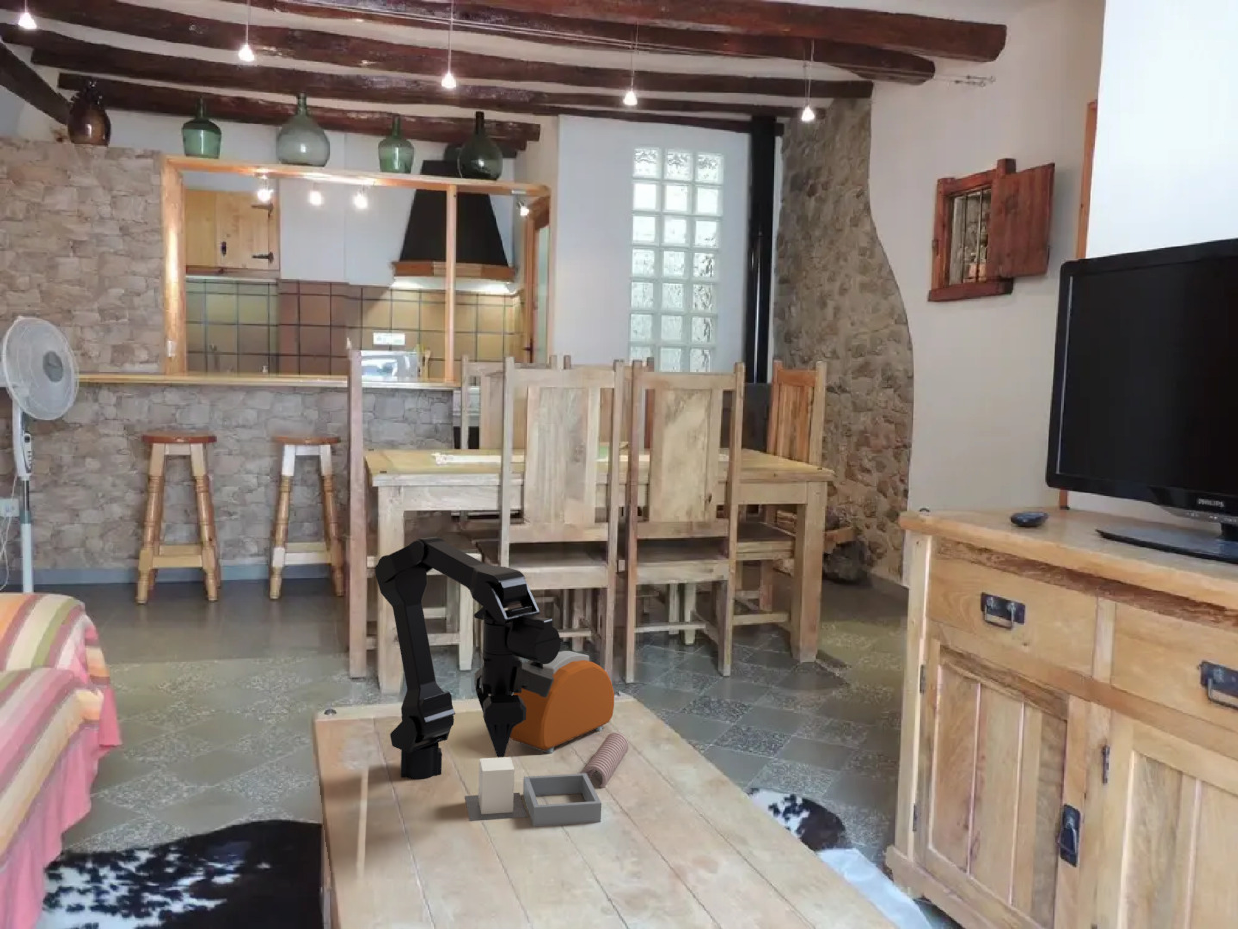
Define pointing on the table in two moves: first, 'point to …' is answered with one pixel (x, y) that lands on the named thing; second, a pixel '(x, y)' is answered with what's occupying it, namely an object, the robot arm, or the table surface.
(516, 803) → the stud plate
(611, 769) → the coil
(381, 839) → the table surface
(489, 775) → the cream rectangular block
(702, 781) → the table surface
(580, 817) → the bin
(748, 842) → the table surface
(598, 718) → the orange grey rounded block
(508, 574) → the robot arm
